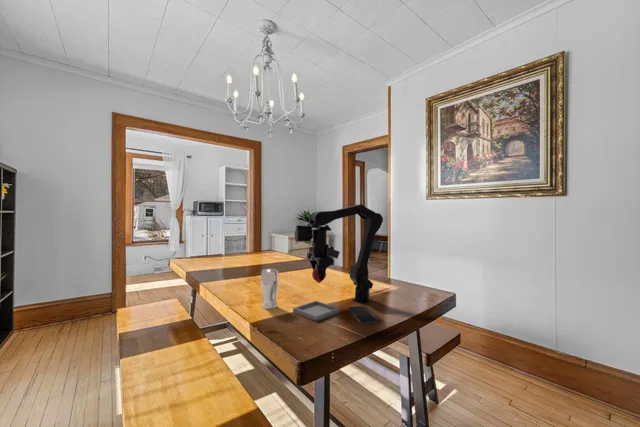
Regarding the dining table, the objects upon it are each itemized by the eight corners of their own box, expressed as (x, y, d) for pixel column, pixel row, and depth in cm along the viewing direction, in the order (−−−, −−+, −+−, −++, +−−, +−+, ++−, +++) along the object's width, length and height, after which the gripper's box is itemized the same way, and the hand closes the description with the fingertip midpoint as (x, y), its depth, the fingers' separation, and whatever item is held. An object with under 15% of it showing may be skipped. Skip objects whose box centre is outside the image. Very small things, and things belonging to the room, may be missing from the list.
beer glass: (274, 310, 110) (274, 272, 110) (258, 308, 112) (258, 271, 112) (280, 304, 117) (280, 268, 117) (265, 303, 119) (265, 268, 118)
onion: (323, 285, 113) (323, 265, 113) (310, 283, 115) (310, 264, 115) (327, 281, 119) (327, 263, 119) (314, 280, 121) (315, 262, 121)
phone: (364, 305, 114) (381, 320, 100) (364, 308, 114) (381, 323, 100) (346, 307, 112) (360, 321, 98) (346, 310, 112) (360, 325, 98)
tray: (316, 304, 117) (316, 300, 117) (338, 312, 108) (339, 308, 108) (293, 312, 108) (293, 307, 108) (315, 321, 99) (316, 316, 99)
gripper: (346, 243, 110) (345, 282, 111) (330, 238, 128) (329, 272, 128) (319, 244, 107) (318, 284, 107) (306, 239, 125) (306, 274, 125)
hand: (319, 278), depth 117 cm, fingers closed on onion, 6 cm apart
